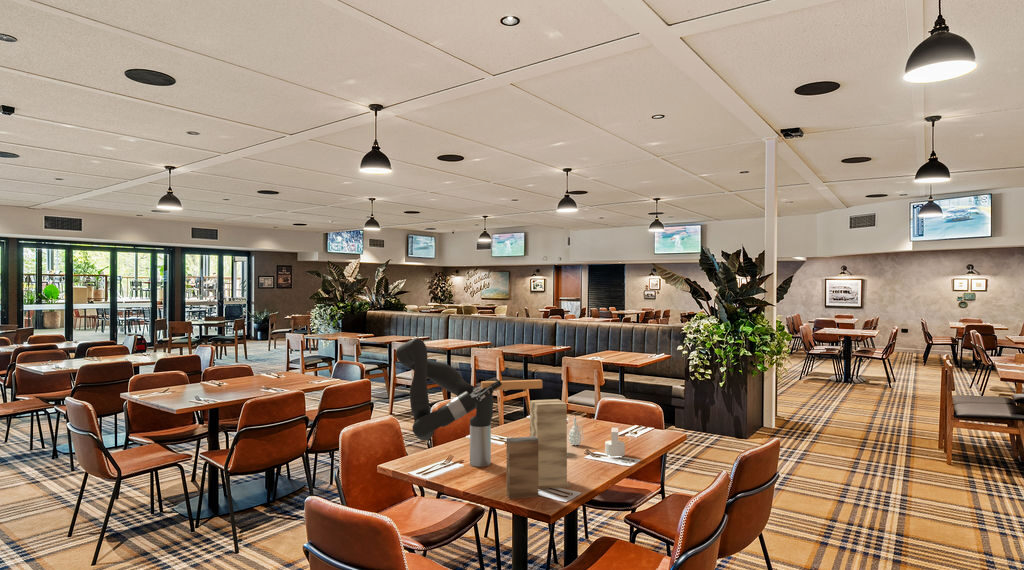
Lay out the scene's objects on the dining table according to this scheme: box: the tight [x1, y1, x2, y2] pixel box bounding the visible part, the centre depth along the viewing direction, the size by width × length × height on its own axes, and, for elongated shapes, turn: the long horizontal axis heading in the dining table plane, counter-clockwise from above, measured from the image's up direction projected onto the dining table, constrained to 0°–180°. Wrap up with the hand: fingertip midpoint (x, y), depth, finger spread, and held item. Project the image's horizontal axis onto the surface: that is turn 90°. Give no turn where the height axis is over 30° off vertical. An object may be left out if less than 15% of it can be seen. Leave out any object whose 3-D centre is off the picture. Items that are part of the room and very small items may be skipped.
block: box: [506, 436, 539, 500], centre depth 206 cm, size 4×11×21 cm, turn 104°
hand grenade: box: [568, 416, 585, 446], centre depth 276 cm, size 8×6×14 cm
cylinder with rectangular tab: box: [604, 427, 626, 456], centre depth 258 cm, size 9×9×12 cm
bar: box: [480, 379, 543, 391], centre depth 216 cm, size 3×24×3 cm, turn 105°
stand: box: [529, 398, 571, 490], centre depth 220 cm, size 12×14×32 cm
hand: (499, 381), depth 215 cm, fingers closed on bar, 3 cm apart
